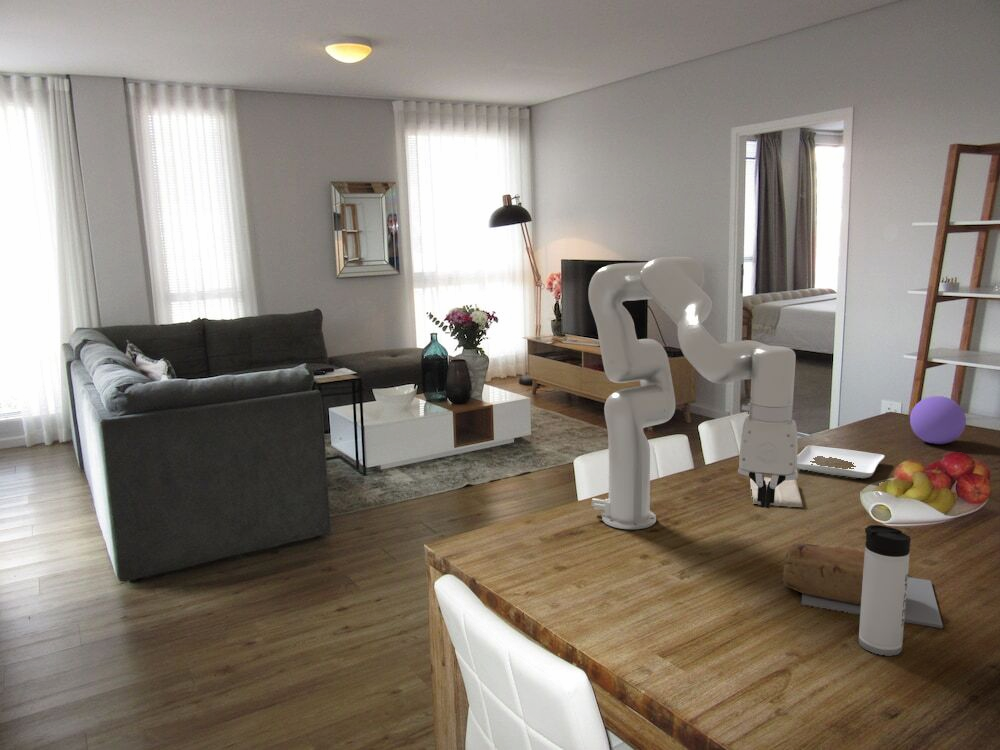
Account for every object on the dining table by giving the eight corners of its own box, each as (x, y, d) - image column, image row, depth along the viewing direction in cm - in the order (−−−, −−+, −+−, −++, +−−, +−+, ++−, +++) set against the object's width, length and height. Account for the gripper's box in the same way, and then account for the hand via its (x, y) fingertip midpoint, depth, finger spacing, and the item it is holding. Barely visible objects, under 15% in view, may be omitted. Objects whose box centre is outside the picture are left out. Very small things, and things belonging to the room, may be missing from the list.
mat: (801, 604, 133) (801, 602, 133) (805, 564, 150) (805, 562, 150) (942, 628, 125) (942, 625, 125) (930, 582, 141) (930, 580, 141)
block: (780, 592, 137) (903, 617, 128) (783, 553, 136) (908, 576, 127) (788, 570, 146) (903, 592, 137) (791, 534, 145) (907, 554, 136)
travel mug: (848, 637, 122) (856, 522, 119) (886, 634, 123) (895, 520, 119) (870, 658, 116) (879, 537, 113) (910, 655, 117) (920, 535, 113)
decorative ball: (959, 439, 236) (964, 393, 234) (967, 452, 223) (971, 403, 220) (906, 435, 243) (909, 390, 240) (910, 447, 229) (914, 399, 226)
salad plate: (807, 454, 225) (807, 443, 225) (885, 465, 213) (885, 453, 213) (789, 473, 208) (789, 461, 208) (872, 485, 196) (873, 473, 196)
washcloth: (795, 487, 197) (795, 475, 196) (804, 511, 180) (804, 498, 179) (748, 484, 200) (748, 473, 200) (752, 507, 183) (752, 495, 183)
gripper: (726, 413, 138) (722, 507, 142) (813, 420, 132) (807, 518, 136) (731, 405, 145) (727, 494, 148) (814, 411, 139) (808, 504, 143)
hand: (765, 505), depth 142 cm, fingers closed
